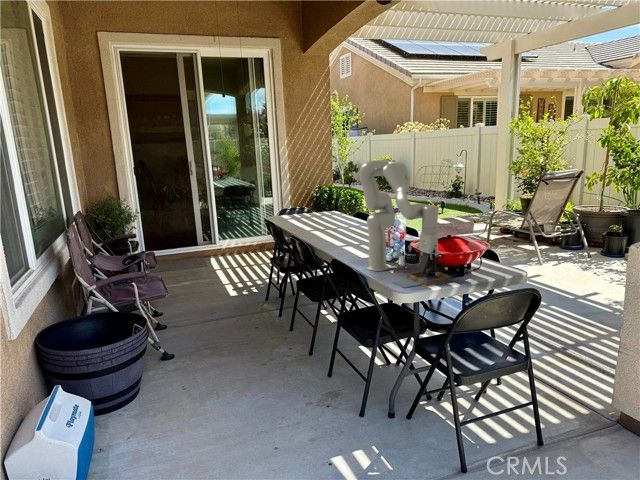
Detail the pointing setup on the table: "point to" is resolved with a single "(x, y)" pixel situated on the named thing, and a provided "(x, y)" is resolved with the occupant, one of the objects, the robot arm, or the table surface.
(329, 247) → the table surface
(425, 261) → the door stopper
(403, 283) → the rubber mat
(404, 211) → the robot arm
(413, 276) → the pocket block
